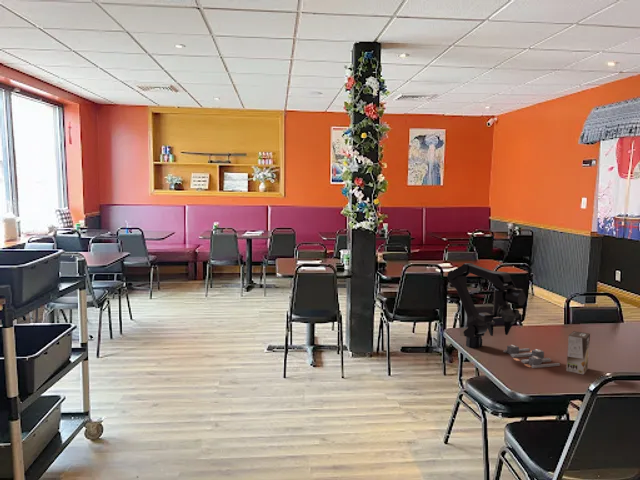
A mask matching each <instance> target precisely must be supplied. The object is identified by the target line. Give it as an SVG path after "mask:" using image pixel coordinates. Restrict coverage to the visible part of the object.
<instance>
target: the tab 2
mask: <svg viewBox="0 0 640 480" xmlns="http://www.w3.org/2000/svg"><path fill="white" fill-rule="evenodd" d="M531 351H532V356H530V357H533V356H538V357H540V358H545V350H542V349H537V348H535V349H532V350H531Z"/></svg>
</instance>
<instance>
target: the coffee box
mask: <svg viewBox="0 0 640 480" xmlns="http://www.w3.org/2000/svg"><path fill="white" fill-rule="evenodd" d="M590 340H591V333H587V332H584V331H583V332H582V331H575V330H574V331H571V333H570V334H568V340H567V341H568V342H567V343H568V344H567V357H566V369H565V370H566V372H569V373H575V374H579V375H584V374H585V373H586V372H587V371H588V369H589V354H590V343H591V342H590Z"/></svg>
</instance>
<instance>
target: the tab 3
mask: <svg viewBox="0 0 640 480" xmlns="http://www.w3.org/2000/svg"><path fill="white" fill-rule="evenodd" d="M528 359H529V363H528V365H530V366H532V365H539V364H542V363H543V362H542V358H540V357H538V356H533V357H531V356H528Z"/></svg>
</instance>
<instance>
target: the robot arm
mask: <svg viewBox="0 0 640 480" xmlns="http://www.w3.org/2000/svg"><path fill="white" fill-rule="evenodd" d="M469 275H475V276H476V277H480V278H481V279H482V278H483V279H485V280H487V281H489V283H490V284H492V286H491V287H490V288H489V289H490V290H492V291H493V301H492V302H491V305H493V310H491V311H490V312H491V313H490V312H478V310H477V308H476V306H475V303H474V301H473V299H472V296H471V293H470V291H469V289H468V287H467V283H468V279H467V277H468V276H469ZM446 277H447V279H448V282H449V283H450V285H451V286H452V287H454V289H455V290H456V293H457V295H458V296H459V297H458V298H459V299H460V302H461V304H462V307H463V309H464V312H465V314H466V317H467V321H466V323H467V324H466V325H467V328H465V330H464V331H463V332H462V333H463V336H464V337H465V347H467V348H469V349H470V348H471V349H479V348H481V347H483V339H482V338H483V337H484V336H485V335H486V332H487V331H488V332H489V334H490V336H491V337H493V336H494V325H495V323H496V322H495V321H494V319H498V320H499V319H503V321H504V323H503V324H504V334H505V336H508V335H509V332H510V330H511V328H512V326H513V325H514V324H515V323H518V321H522V320H523V316H522V313H520V310H519V309H518V308H515V309H511V308H510V306H511V305H510V304H513V305H517V306H524V304H525V303H526V300H527V296H526V293H525V292H524V289H522V288H517V287H516V285H515V283H514V281H513V279H512V277H511V275H510V273H509V272H507V271H499V270H498V271H496V270H491V269H488V268H485V267H482V266H479V265H477V264H474V263H472V262H469V263H463V264H461V266H458V267H457V268H454V269H452V270H449V271H448V272H447V275H446Z"/></svg>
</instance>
